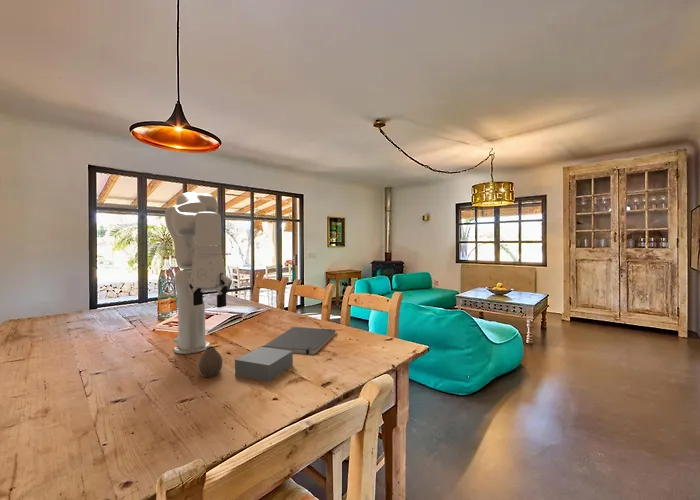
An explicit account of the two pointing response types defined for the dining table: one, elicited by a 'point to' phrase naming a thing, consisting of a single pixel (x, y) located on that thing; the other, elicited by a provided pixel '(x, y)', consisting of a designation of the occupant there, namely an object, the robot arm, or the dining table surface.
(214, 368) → the vase
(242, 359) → the slate block
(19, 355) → the dining table surface
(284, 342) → the notebook
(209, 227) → the robot arm
